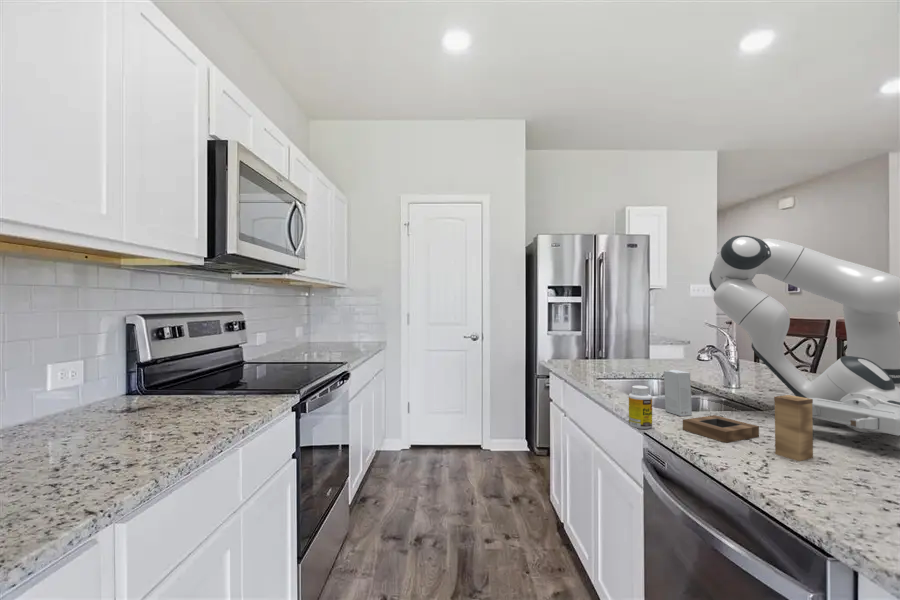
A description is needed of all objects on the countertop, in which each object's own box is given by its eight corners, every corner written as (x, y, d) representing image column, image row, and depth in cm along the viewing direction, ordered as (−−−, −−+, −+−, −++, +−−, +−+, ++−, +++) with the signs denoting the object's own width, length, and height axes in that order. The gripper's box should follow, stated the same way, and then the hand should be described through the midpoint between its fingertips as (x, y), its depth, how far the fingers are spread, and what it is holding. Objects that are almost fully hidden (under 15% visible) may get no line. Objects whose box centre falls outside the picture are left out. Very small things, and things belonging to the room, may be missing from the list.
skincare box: (692, 415, 124) (692, 372, 124) (678, 416, 123) (678, 373, 124) (676, 410, 130) (676, 369, 130) (663, 411, 129) (663, 369, 130)
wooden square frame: (714, 424, 115) (714, 415, 115) (759, 436, 104) (758, 426, 105) (682, 429, 111) (682, 419, 111) (725, 442, 100) (725, 431, 100)
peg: (788, 451, 94) (788, 394, 95) (813, 458, 90) (812, 399, 90) (774, 454, 93) (774, 396, 93) (799, 461, 88) (798, 401, 89)
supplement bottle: (644, 431, 110) (643, 389, 110) (624, 425, 115) (623, 386, 115) (657, 427, 113) (656, 387, 113) (637, 422, 118) (636, 384, 118)
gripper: (812, 389, 111) (776, 394, 106) (924, 407, 92) (887, 414, 87) (813, 415, 111) (777, 421, 106) (925, 438, 92) (888, 446, 87)
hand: (827, 418), depth 96 cm, fingers open, 8 cm apart
